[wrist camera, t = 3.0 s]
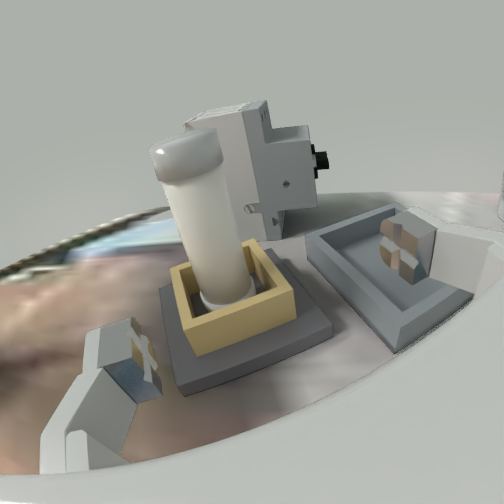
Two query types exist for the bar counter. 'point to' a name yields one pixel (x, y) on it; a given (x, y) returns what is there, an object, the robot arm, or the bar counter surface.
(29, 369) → the bar counter surface
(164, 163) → the cylinder
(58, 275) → the bar counter surface
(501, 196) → the coffee box
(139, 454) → the bar counter surface
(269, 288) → the block
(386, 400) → the robot arm
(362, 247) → the parts tray
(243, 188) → the circuit breaker
